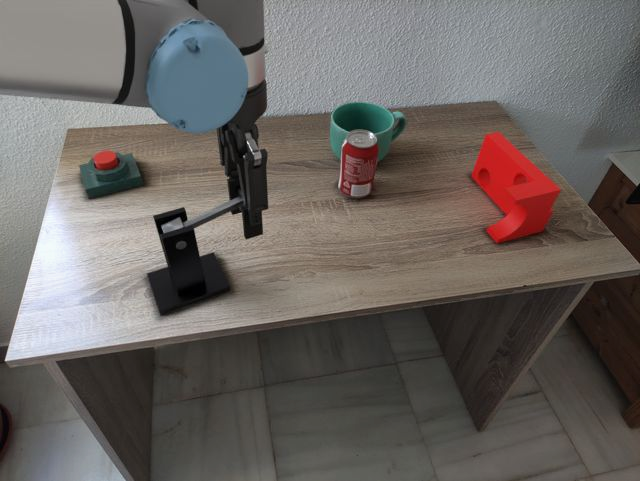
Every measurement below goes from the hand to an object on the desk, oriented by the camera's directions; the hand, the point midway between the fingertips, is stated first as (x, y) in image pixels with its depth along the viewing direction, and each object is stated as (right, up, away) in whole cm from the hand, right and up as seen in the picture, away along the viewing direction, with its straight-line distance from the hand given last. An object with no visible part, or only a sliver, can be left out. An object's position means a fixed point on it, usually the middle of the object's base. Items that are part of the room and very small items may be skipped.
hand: (246, 222), depth 71 cm
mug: (+21, +16, +30) cm, 40 cm away
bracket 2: (+44, +4, +20) cm, 49 cm away
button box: (-29, +9, +20) cm, 37 cm away
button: (-29, +12, +18) cm, 36 cm away
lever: (-4, 0, -3) cm, 6 cm away
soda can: (+18, +7, +22) cm, 29 cm away
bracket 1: (-10, -10, +3) cm, 14 cm away
